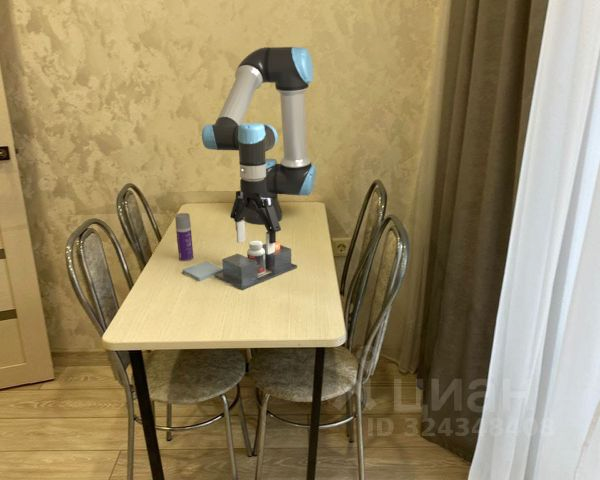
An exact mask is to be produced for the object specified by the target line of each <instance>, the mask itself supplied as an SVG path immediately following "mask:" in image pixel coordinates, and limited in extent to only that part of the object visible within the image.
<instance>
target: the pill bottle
mask: <svg viewBox="0 0 600 480" xmlns="http://www.w3.org/2000/svg"><path fill="white" fill-rule="evenodd" d="M248 244H249V246H248V247H249V249H248V250H247V252H246V255H247V256H246V257H247V258H250V259H252V260H255V261H257V270H258V276H263V275H265V273H266V270H267V269H265V250H264V249H263V248H262V245H263V241H260V240H253V241H250V242H249V243H248Z"/></svg>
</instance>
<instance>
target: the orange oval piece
mask: <svg viewBox="0 0 600 480" xmlns="http://www.w3.org/2000/svg"><path fill="white" fill-rule="evenodd" d="M280 245H281V242H280V241H276V242H275V251H276V250H279V249H280Z"/></svg>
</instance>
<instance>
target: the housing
mask: <svg viewBox="0 0 600 480" xmlns="http://www.w3.org/2000/svg"><path fill="white" fill-rule="evenodd" d="M262 248H263V249H264V250H265V270H267V271H269V272H268V273H266V274H262V275H260V276H259V275H258V270H257V261H255V260H252V259H250V258H248V257H247V256H245V255H242V254H241V253H236V254H233V255H230V256H227V257H224V258H222V259H221V261H222V262H221V264H222V269H223V272H221V273H218V274H215V276H214V277H215V278H216V279H219V280H221V281H222V282H225V283H226V284H229V285H231V286H232V287H233V286H234V287H236V288H237V289H240V290H242V291H244V290H247V289H249V288H251V287H255V286H257V285H258V284H261V283H264V282H266V281H269V280H271V279H274V278H276V277H278V276H280V275H281V276H282V275H283V274H285V273H289V272H290V271H293V270H296V269H298V265H297V264H294V263H292V248H290V247H286V246H284V245H281V244H280V249H279V250H276V251H275V252H273V253H271V254H266V243H264V244H262Z"/></svg>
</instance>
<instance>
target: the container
mask: <svg viewBox="0 0 600 480" xmlns="http://www.w3.org/2000/svg"><path fill="white" fill-rule="evenodd" d="M174 216H175V219H174V221H175V233H176V242H177V253H178V260H179V261H180V262H191V261H192V260H194V249H193V247H194V246H193V239H192V238H193V237H192V235H193V234H192V225H191V218H190V217H191V216H190V214H189V213H187V212H181V213H177V214H175V215H174Z"/></svg>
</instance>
